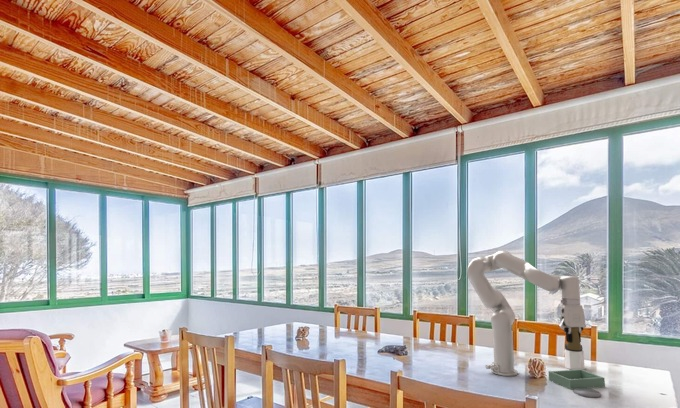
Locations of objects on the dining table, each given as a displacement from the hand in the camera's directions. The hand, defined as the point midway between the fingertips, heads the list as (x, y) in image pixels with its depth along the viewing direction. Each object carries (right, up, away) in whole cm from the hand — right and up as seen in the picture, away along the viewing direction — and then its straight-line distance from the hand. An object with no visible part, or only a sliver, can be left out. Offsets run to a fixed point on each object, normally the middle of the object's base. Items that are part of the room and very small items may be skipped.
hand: (573, 341), depth 194 cm
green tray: (0, -19, -2) cm, 19 cm away
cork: (0, -3, 0) cm, 3 cm away
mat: (-3, -17, -16) cm, 24 cm away
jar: (+14, -22, +23) cm, 35 cm away
